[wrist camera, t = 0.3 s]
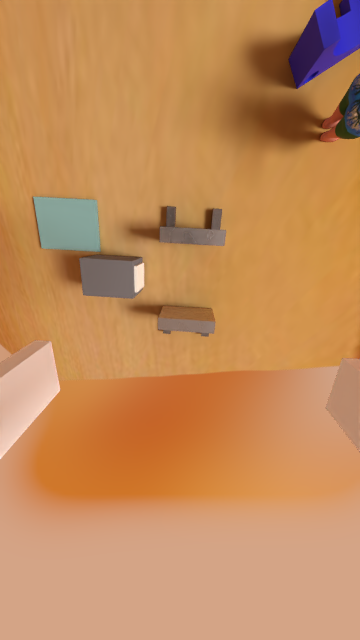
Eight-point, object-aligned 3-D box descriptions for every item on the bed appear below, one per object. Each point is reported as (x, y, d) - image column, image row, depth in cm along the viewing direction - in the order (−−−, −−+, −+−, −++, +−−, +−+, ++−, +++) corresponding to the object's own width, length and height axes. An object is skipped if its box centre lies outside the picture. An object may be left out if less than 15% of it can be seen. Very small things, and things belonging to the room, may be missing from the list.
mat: (35, 197, 32) (33, 196, 31) (96, 200, 31) (95, 199, 31) (43, 248, 34) (41, 248, 34) (100, 251, 34) (99, 251, 33)
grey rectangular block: (97, 254, 34) (79, 258, 29) (145, 257, 34) (135, 261, 28) (100, 286, 36) (83, 295, 30) (145, 289, 36) (136, 298, 30)
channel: (166, 207, 31) (160, 200, 26) (222, 210, 31) (229, 204, 25) (162, 330, 38) (157, 347, 32) (209, 334, 38) (211, 351, 32)
